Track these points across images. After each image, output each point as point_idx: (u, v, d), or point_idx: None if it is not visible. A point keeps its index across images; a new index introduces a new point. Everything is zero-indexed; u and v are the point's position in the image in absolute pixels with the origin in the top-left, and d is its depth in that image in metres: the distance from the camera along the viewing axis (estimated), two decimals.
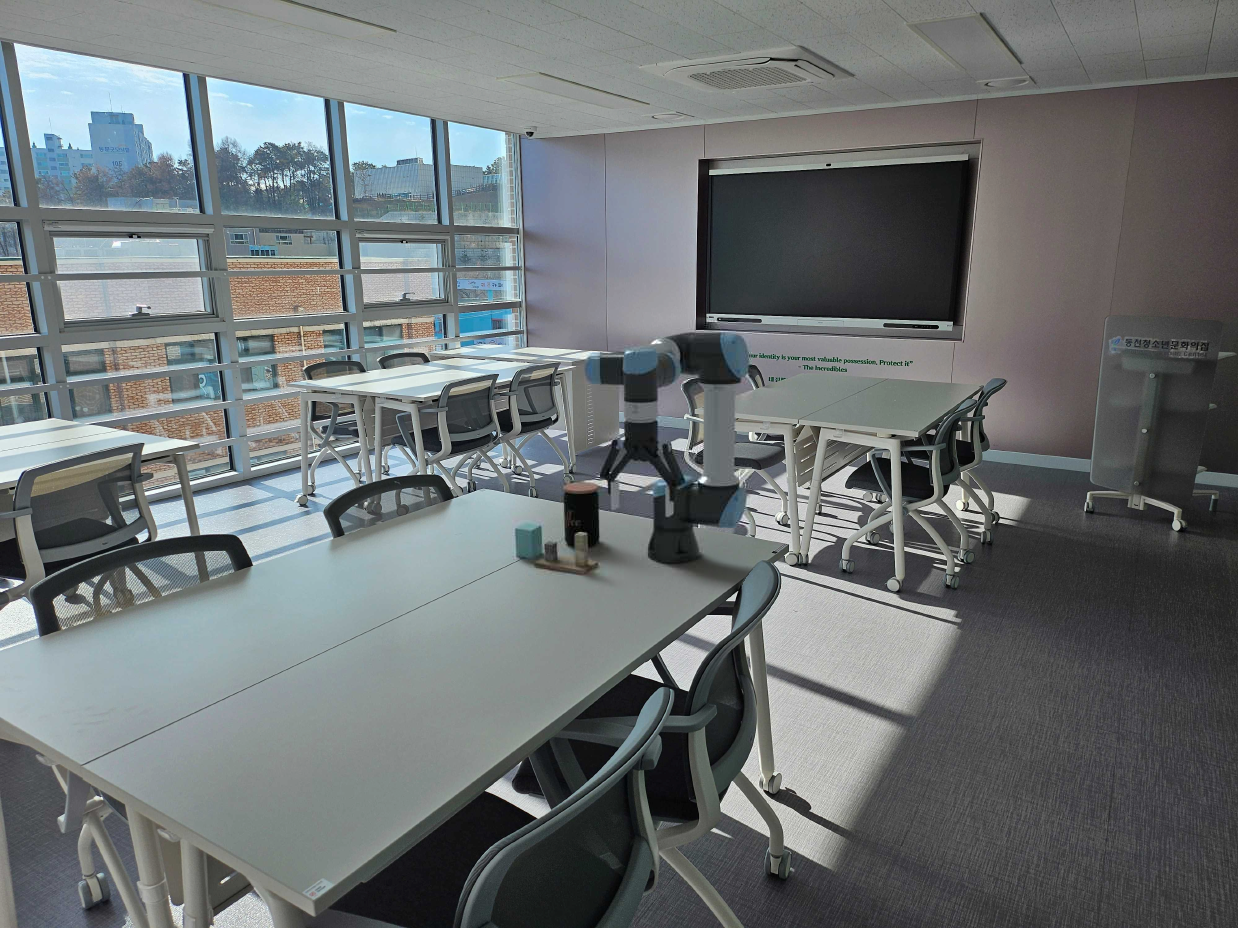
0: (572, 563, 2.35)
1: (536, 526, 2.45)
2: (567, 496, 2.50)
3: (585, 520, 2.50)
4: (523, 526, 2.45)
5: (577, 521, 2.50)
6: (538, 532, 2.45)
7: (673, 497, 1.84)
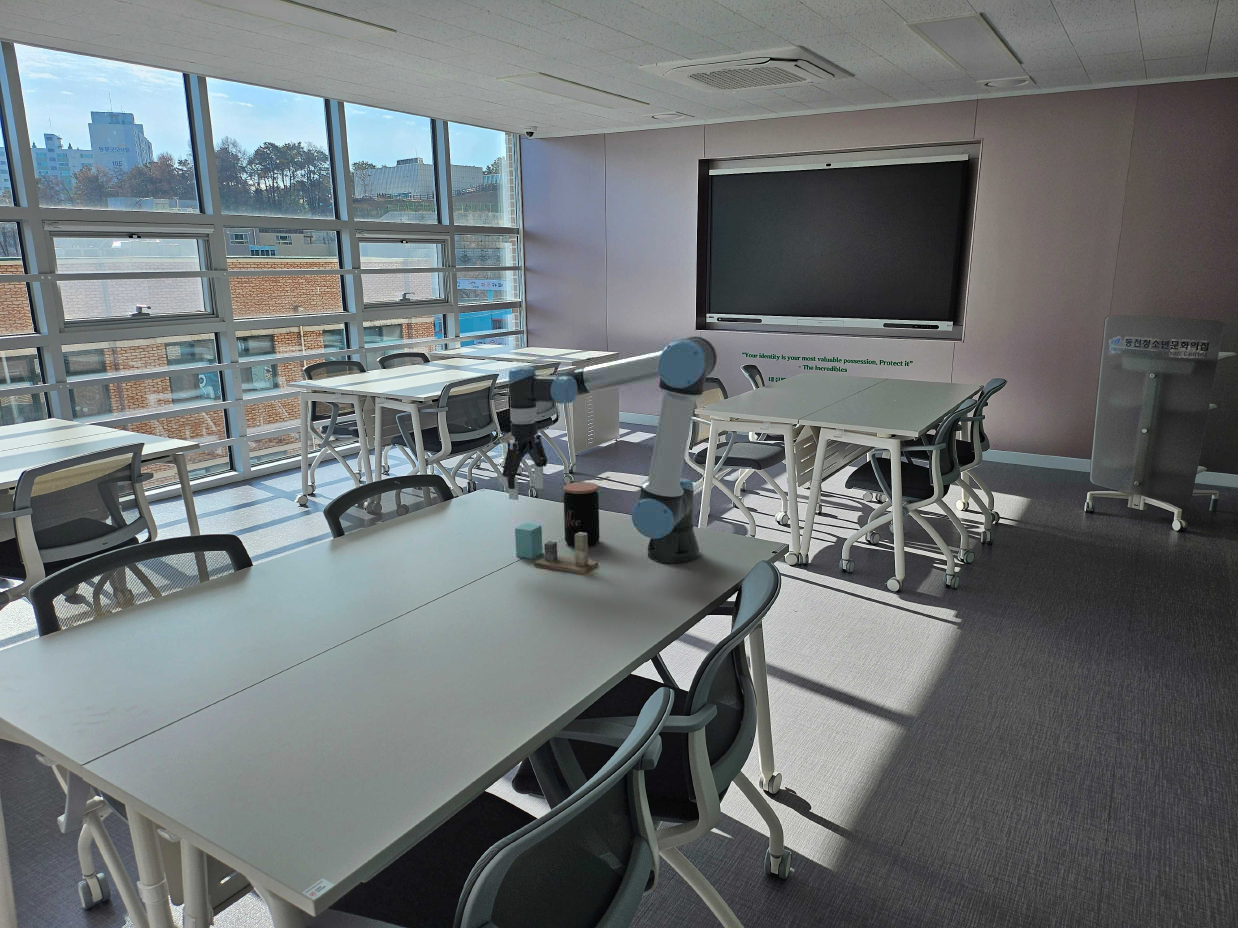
0: (572, 563, 2.35)
1: (536, 526, 2.45)
2: (567, 495, 2.50)
3: (585, 520, 2.50)
4: (523, 526, 2.45)
5: (577, 521, 2.50)
6: (538, 532, 2.45)
7: None
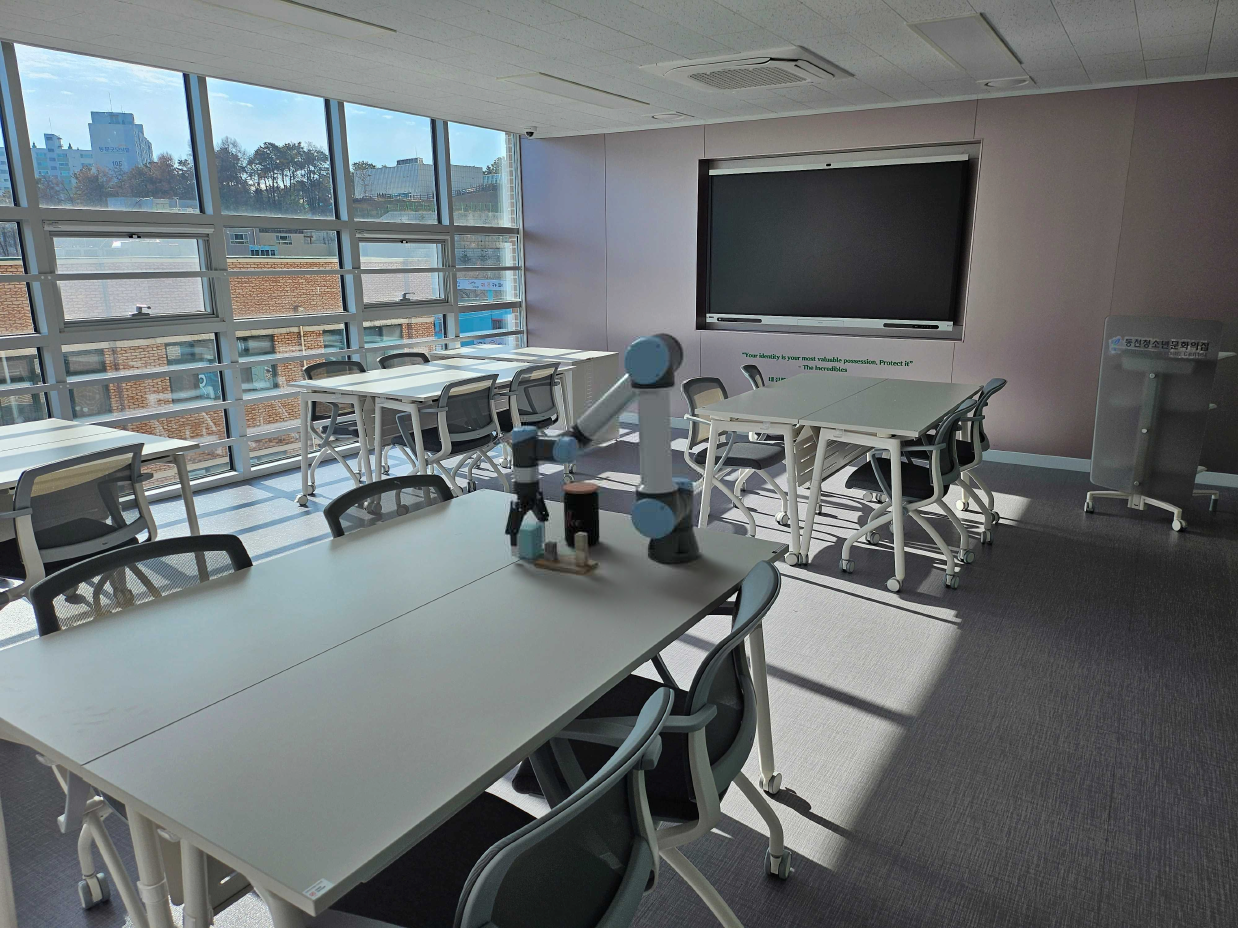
0: (572, 563, 2.35)
1: (536, 526, 2.45)
2: (567, 495, 2.50)
3: (585, 520, 2.50)
4: (523, 526, 2.45)
5: (577, 521, 2.50)
6: (538, 532, 2.45)
7: None
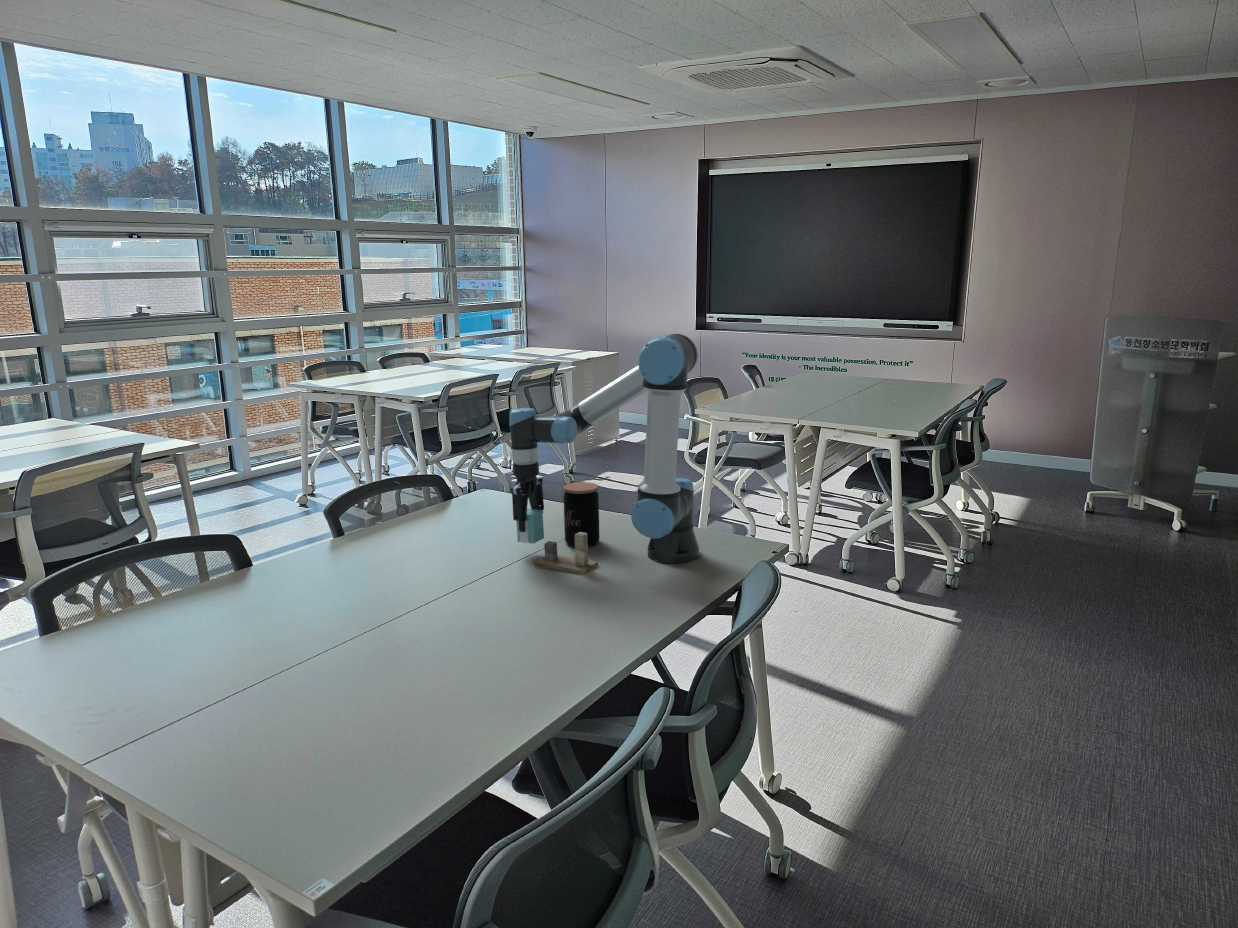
0: (572, 563, 2.35)
1: (537, 511, 2.44)
2: (567, 496, 2.50)
3: (585, 520, 2.50)
4: None
5: (577, 521, 2.50)
6: (539, 517, 2.43)
7: None
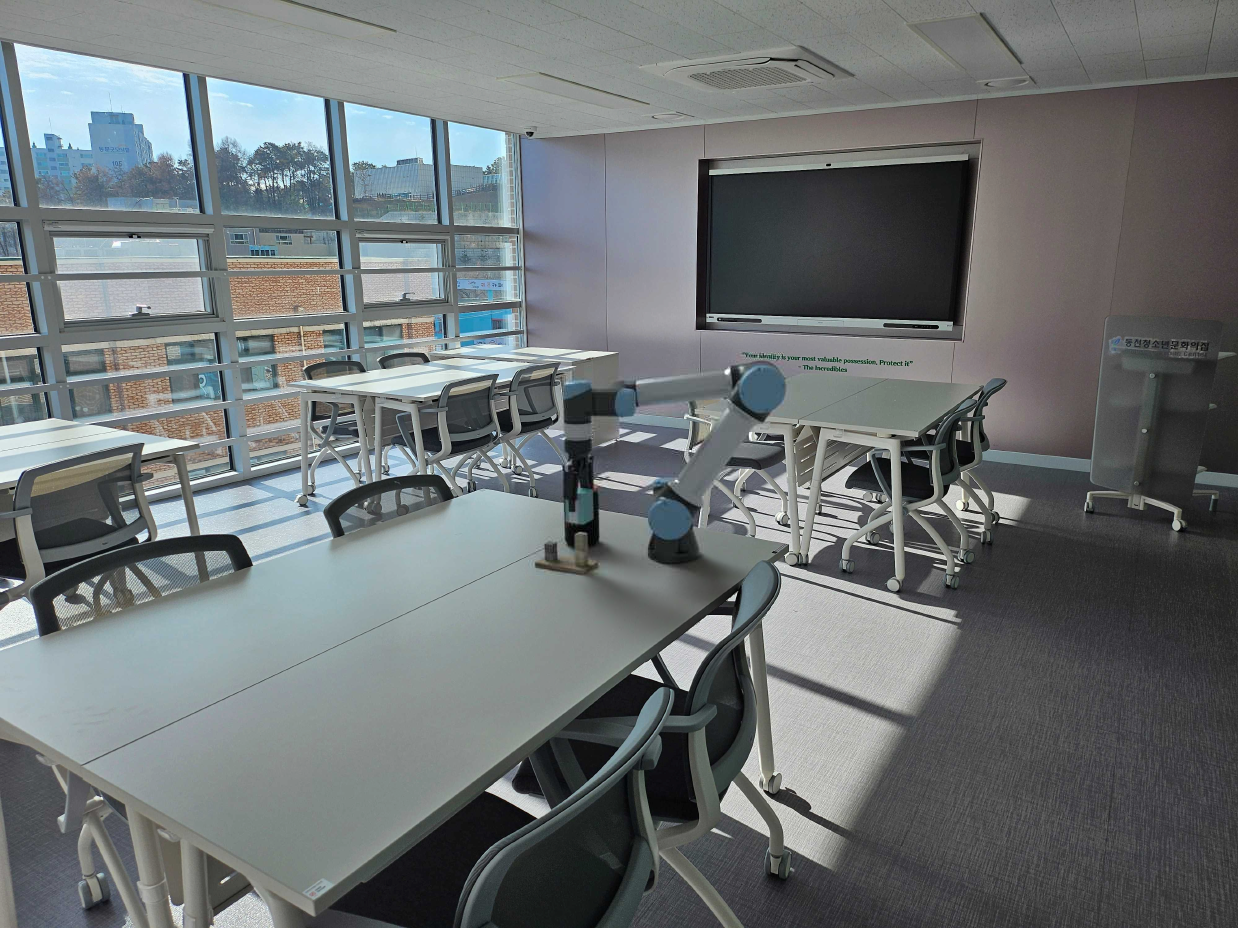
0: (572, 563, 2.35)
1: (587, 490, 2.29)
2: None
3: None
4: None
5: None
6: (589, 496, 2.29)
7: None
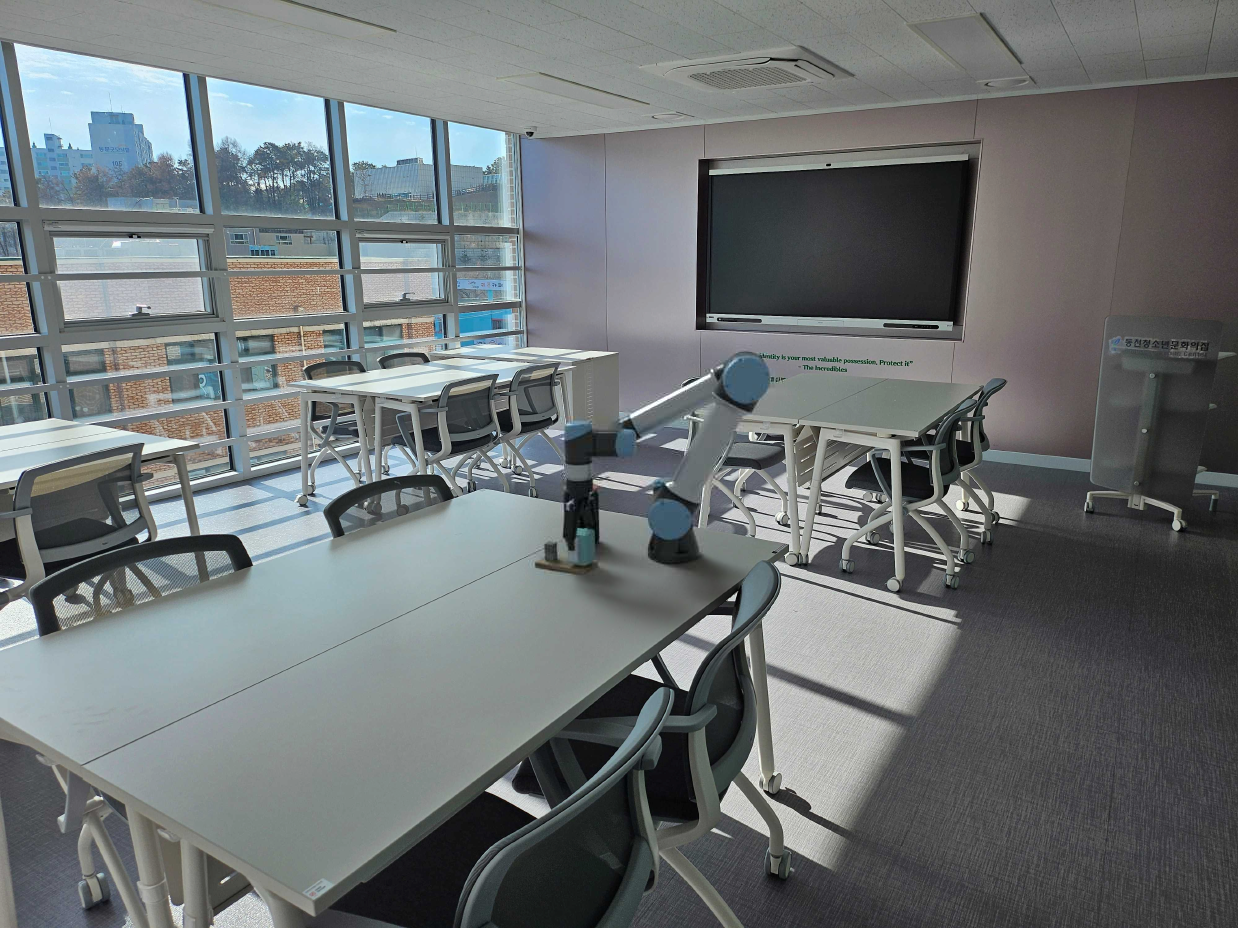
0: None
1: (589, 531, 2.32)
2: (567, 495, 2.50)
3: None
4: None
5: None
6: (591, 537, 2.32)
7: None
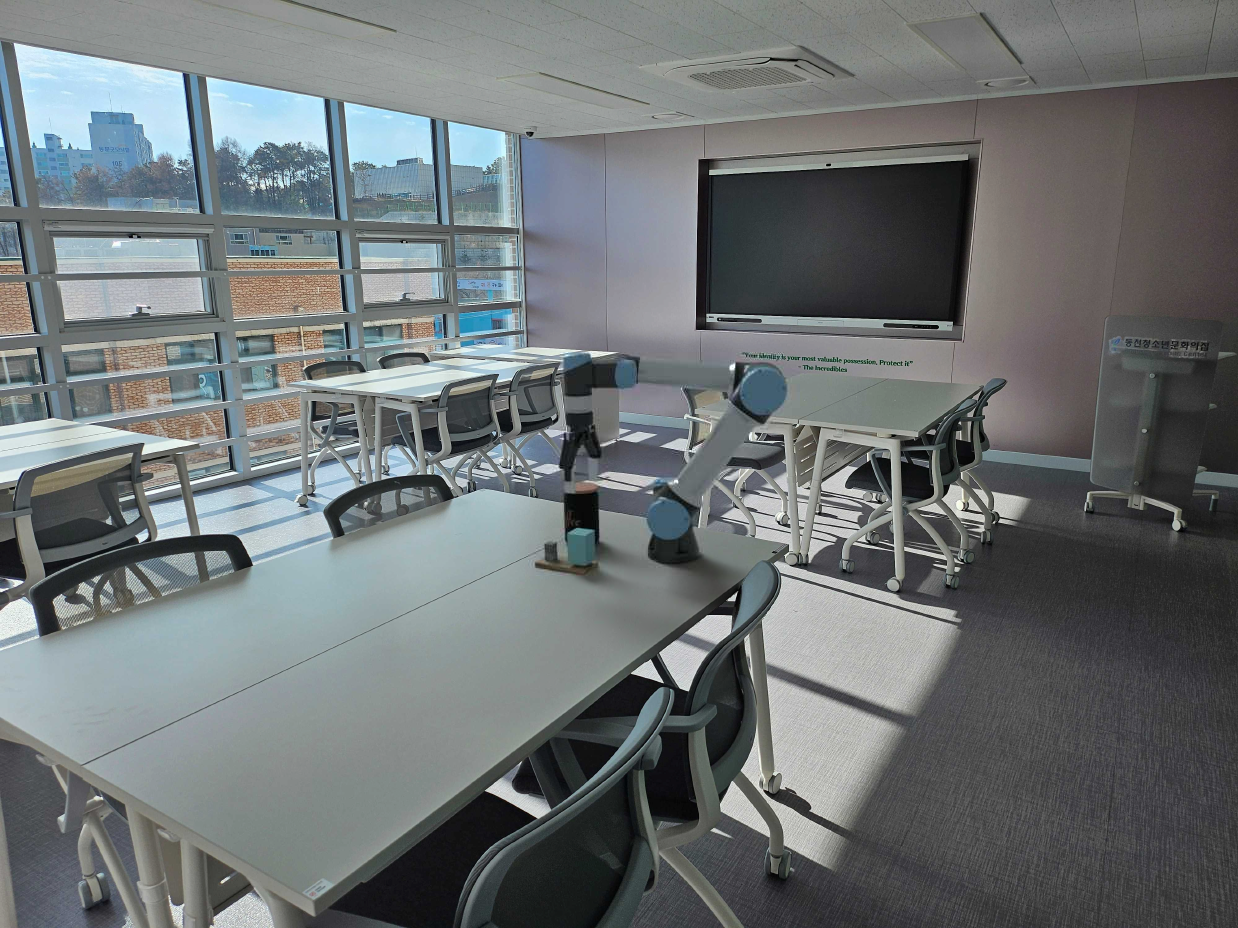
0: None
1: (589, 531, 2.32)
2: (567, 495, 2.50)
3: (585, 520, 2.50)
4: (575, 531, 2.32)
5: (577, 521, 2.50)
6: (591, 537, 2.32)
7: None
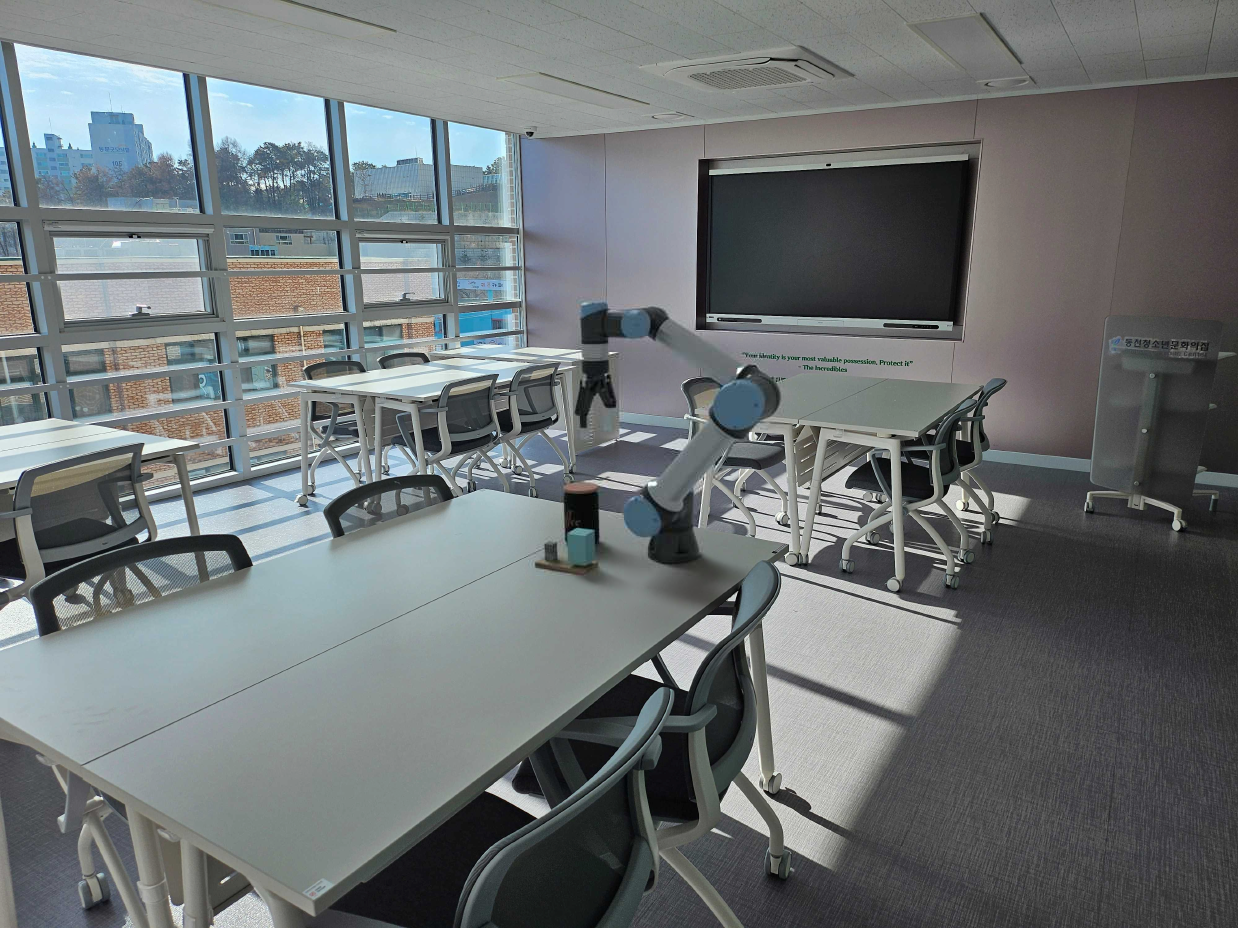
0: None
1: (589, 531, 2.32)
2: (567, 495, 2.50)
3: (585, 520, 2.50)
4: (575, 531, 2.32)
5: (577, 521, 2.50)
6: (591, 537, 2.32)
7: None
